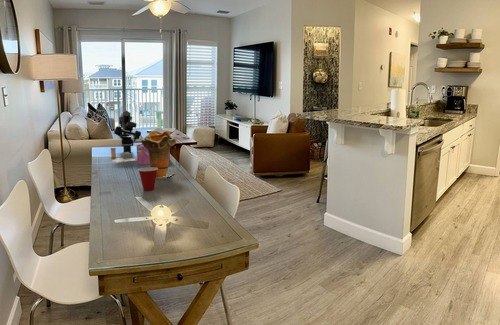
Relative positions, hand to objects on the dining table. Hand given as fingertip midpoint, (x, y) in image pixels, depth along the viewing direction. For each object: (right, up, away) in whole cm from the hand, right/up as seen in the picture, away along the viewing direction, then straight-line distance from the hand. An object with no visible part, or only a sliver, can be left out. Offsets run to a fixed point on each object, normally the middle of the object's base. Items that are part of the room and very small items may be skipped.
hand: (128, 140), depth 291 cm
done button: (-3, -12, +6) cm, 14 cm away
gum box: (+20, -17, -5) cm, 26 cm away
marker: (-13, -14, +6) cm, 20 cm away
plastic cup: (+33, -31, -73) cm, 86 cm away
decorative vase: (+32, -25, -42) cm, 59 cm away
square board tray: (-4, -15, -1) cm, 16 cm away
